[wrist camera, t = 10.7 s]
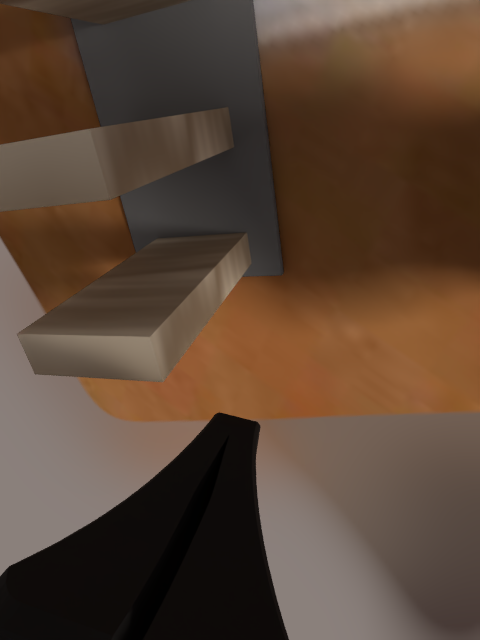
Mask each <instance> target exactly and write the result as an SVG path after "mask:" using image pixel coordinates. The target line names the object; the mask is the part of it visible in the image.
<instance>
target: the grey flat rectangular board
mask: <svg viewBox="0 0 480 640" xmlns="http://www.w3.org/2000/svg"><path fill="white" fill-rule="evenodd" d="M71 21H72V25H73V29H74V32H75V36H76V39H77V43H78V47H79V50H80V54H81V57H82V61H83V65H84V68H85V72H86V75H87V79H88V82H89V86H90V90H91V93H92V97H93V100H94V104H95V108H96V111H97V115H98V118H99V122H100V125H101V127H104V126H111V125H117V124H123V123H130V122H136V121H143V120H149V119H156V118H162V117H168V116H175V115H181V114H188V113H194V112H200V111H207V110H213V109H220V108H226V107H228V109H229V115H230V122H231V129H232V135H233V142H234V147H233V148H231V149H229V150H226V151H224V152H221V153H219V154H217V155H214V156H212V157H210V158H207V159H205V160H203V161H200V162H198V163H196V164H193V165H191V166H188V167H186V168H184V169H181V170H179V171H177V172H174V173H172V174H170V175H167V176H165V177H163V178H160V179H158V180H156V181H153V182H151V183H148V184H146V185H144V186H141V187H139V188H137V189H134V190H132V191H130V192H127V193H125V194H123V195H120V197H121V201H122V204H123V208H124V212H125V215H126V219H127V222H128V226H129V229H130V233H131V237H132V240H133V244H134V247H135V251H136V253H137V252H138V251H139V250H141V249H142V248H144V247H145V246H147V245H148V244H150V243H151V242H153V241H154V240H156V239H159V238H173V237H188V236H203V235H217V234H232V233H246V232H247V236H248V243H249V249H250V256H251V265H250V266H249V267H248V269H247V270H246V272H245V273H244V274H243V276H242V277H245V276H276V275H283V273H284V270H283V261H282V252H281V244H280V235H279V226H278V217H277V208H276V199H275V191H274V182H273V173H272V164H271V155H270V146H269V138H268V129H267V120H266V111H265V102H264V93H263V85H262V76H261V67H260V58H259V49H258V40H257V31H256V23H255V14H254V5H253V0H191V1H187V2H184V3H180V4H176V5H173V6H169V7H165V8H162V9H158V10H154V11H151V12H147V13H144V14H140V15H136V16H133V17H129V18H125V19H122V20H118V21H115V22H111V23H107V24H104V25H103V24H98V23H93V22H88V21H83V20H78V19H73V18H71Z"/></svg>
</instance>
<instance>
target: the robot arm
mask: <svg viewBox="0 0 480 640" xmlns="http://www.w3.org/2000/svg"><path fill="white" fill-rule="evenodd" d="M259 432H260V425H259V423H258V422H256V421H251V420H247V419H243V418H239V417H235V416H231V415H227V414H223V413H217V414H215V415H214V417H213V418H212V419H211V420H210V422H209V423H208V424H207V425H206V427H205V428H204V429H203V430H202V431H201V432H200V433H199V435H197V436H196V438H195V439H194V440H193V441H192V442H191V443H190V444H189V445H188V446H187V447H186V448H185V449H184V450H183V451H182V452H181V453H180V454H179V455H178V456H177V457H176V458H175V459H174V460H173V461H172V462H170V463H169V464H168V465H167V466H166V467H165V468H164V469H163V470H161V471H160V472H159V473H158V474H157V475H156V476H155V477H154V478H153V479H151V480H150V481H149V482H148V483H146V484H145V485H144V486H143V487H141V488H140V489H139V490H138V491H136V492H135V493H134V494H132V495H131V496H130V497H128V498H127V499H126V500H124V501H123V502H121V503H120V504H118V505H117V506H116V507H114V508H113V509H111V510H110V511H108V512H107V513H106V514H104V515H102V516H101V517H99V518H98V519H96V520H95V521H93V522H91V523H90V524H88V525H86V526H85V527H83V528H81V529H79V530H78V531H76V532H74V533H73V534H71V535H69V536H68V537H66V538H64V539H62V540H61V541H59V542H57V543H55V544H53V545H51V546H49V547H47V548H45V549H43V550H41V551H40V552H37V553H36V554H33V555H31V556H29V557H27V558H25V559H23V560H21V561H19V562H17V563H15V564H13V565H11V566H9V567H8V568H7V569H6V570H5V572H4V573H3V574H2V575H1V576H0V640H289V639H288V635H287V632H286V629H285V626H284V623H283V619H282V616H281V612H280V609H279V606H278V602H277V598H276V595H275V590H274V586H273V582H272V578H271V574H270V570H269V566H268V561H267V556H266V551H265V546H264V541H263V535H262V529H261V523H260V515H259V507H258V498H257V485H256V452H257V445H258V439H259Z"/></svg>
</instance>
